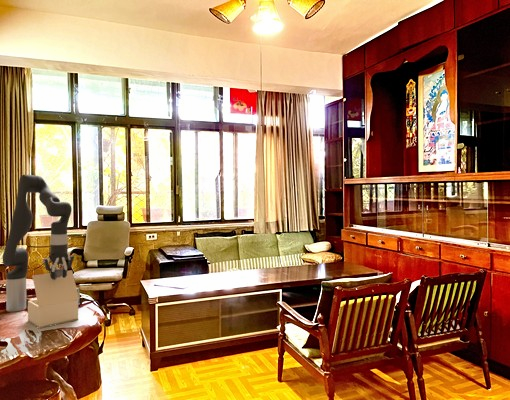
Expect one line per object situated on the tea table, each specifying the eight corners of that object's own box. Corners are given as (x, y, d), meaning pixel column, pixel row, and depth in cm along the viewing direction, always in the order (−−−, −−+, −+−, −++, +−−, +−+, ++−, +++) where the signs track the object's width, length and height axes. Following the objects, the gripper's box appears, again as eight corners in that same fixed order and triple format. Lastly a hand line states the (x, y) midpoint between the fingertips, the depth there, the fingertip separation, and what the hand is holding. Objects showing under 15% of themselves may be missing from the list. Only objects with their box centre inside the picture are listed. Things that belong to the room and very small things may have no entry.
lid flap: (32, 275, 187) (37, 267, 181) (71, 270, 200) (77, 263, 195) (38, 307, 181) (44, 299, 176) (78, 299, 194) (85, 292, 189)
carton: (27, 320, 192) (27, 300, 192) (65, 313, 205) (65, 294, 205) (39, 328, 181) (39, 307, 181) (78, 319, 194) (78, 299, 194)
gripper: (71, 241, 195) (70, 274, 196) (40, 243, 185) (39, 279, 185) (77, 242, 190) (76, 277, 191) (45, 245, 180) (45, 282, 180)
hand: (58, 278), depth 188 cm, fingers closed on lid flap, 4 cm apart
